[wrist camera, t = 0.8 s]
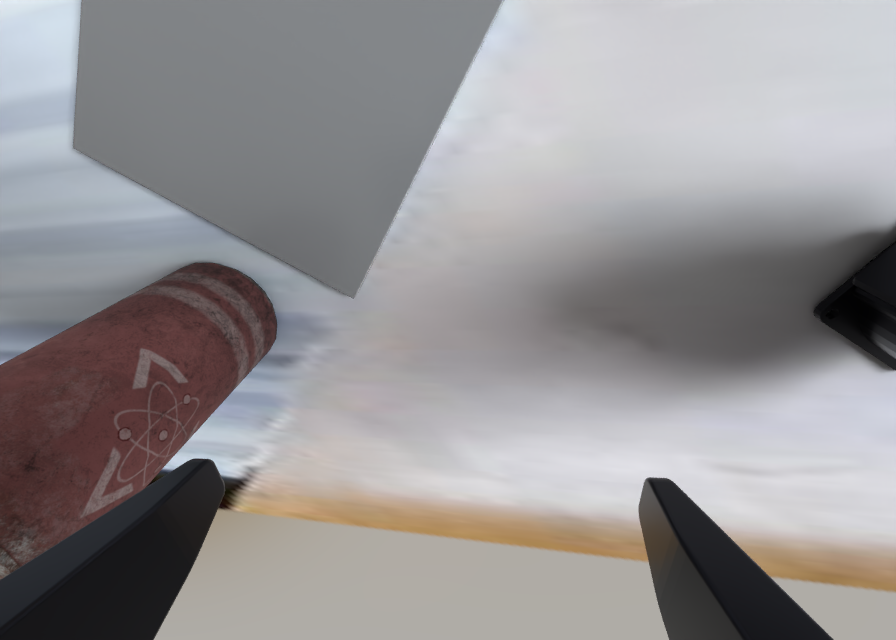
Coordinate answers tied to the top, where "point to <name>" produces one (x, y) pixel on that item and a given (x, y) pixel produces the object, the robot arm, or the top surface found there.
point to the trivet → (277, 112)
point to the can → (119, 400)
